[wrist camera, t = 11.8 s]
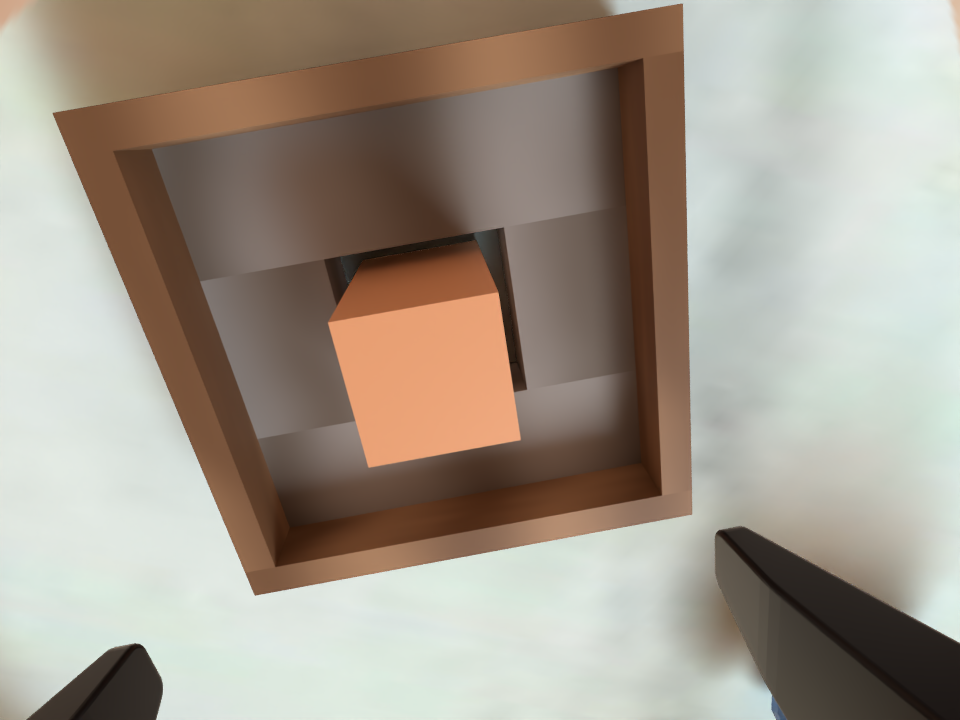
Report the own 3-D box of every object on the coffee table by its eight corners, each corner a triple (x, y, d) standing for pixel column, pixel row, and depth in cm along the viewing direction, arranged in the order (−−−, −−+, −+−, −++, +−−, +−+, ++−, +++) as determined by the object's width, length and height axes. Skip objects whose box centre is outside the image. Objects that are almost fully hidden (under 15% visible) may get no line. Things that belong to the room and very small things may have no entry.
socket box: (287, 511, 23) (254, 595, 19) (145, 118, 17) (52, 112, 13) (645, 445, 23) (692, 514, 19) (622, 35, 17) (682, 3, 13)
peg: (388, 364, 21) (368, 467, 14) (362, 260, 19) (327, 322, 13) (493, 345, 21) (520, 439, 14) (475, 240, 19) (498, 291, 13)
